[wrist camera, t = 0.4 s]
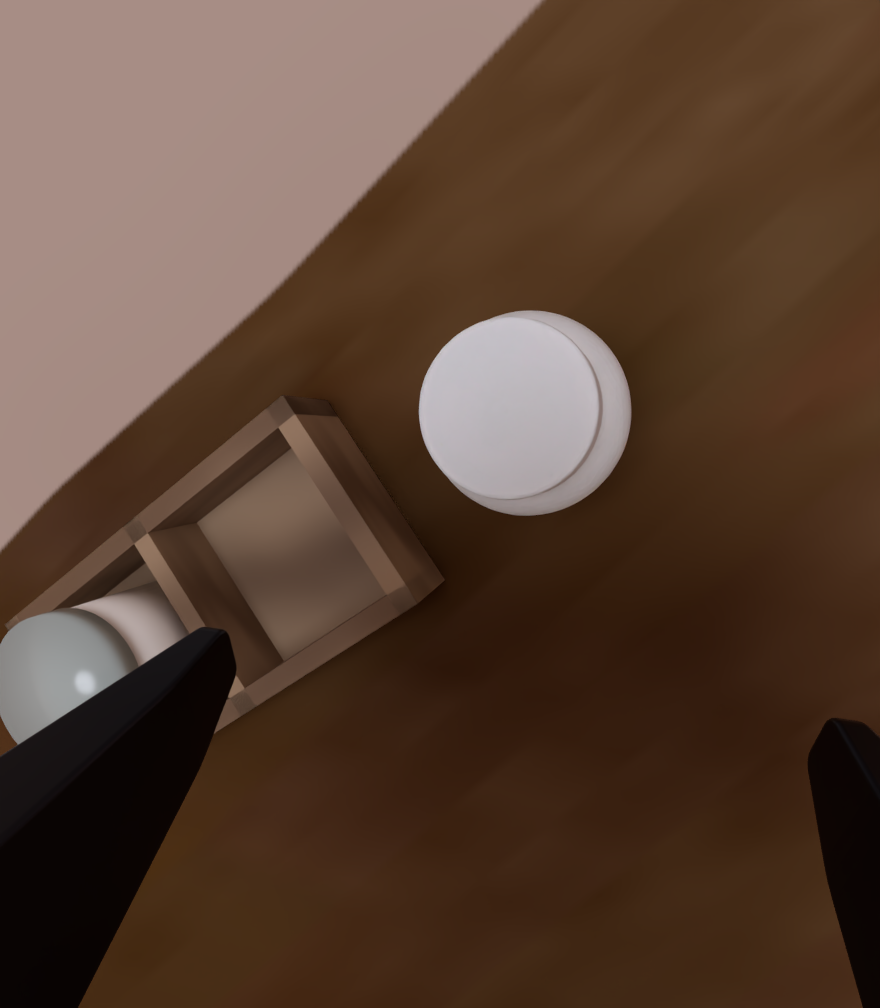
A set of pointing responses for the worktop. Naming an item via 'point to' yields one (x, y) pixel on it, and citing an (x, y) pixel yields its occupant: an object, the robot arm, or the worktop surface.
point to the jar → (80, 654)
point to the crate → (268, 550)
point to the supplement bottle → (526, 412)
